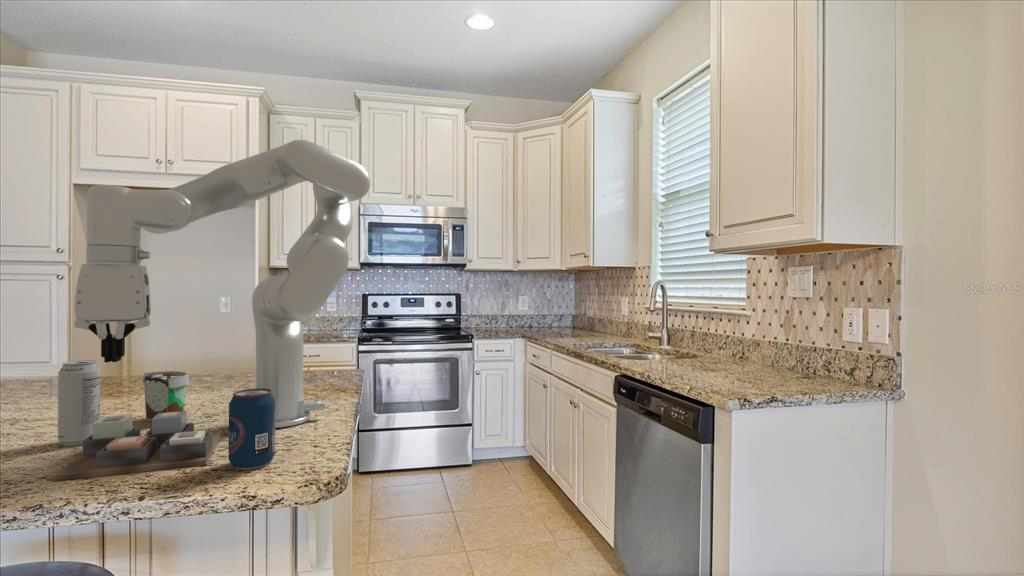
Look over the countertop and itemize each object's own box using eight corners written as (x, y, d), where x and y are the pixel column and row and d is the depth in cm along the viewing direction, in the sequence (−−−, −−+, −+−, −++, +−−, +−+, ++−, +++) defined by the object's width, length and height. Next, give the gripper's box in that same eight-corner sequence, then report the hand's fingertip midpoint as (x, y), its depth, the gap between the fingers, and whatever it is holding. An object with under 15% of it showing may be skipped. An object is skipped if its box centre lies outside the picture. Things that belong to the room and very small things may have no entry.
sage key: (132, 430, 93) (132, 413, 93) (124, 437, 89) (124, 420, 89) (102, 432, 92) (102, 416, 92) (92, 440, 88) (92, 422, 88)
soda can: (221, 464, 85) (221, 392, 85) (263, 453, 90) (264, 385, 90) (239, 474, 80) (239, 398, 80) (282, 463, 86) (283, 391, 86)
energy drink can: (75, 437, 99) (75, 359, 99) (108, 437, 99) (108, 359, 99) (49, 447, 93) (49, 364, 93) (84, 446, 93) (84, 364, 93)
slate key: (186, 425, 97) (186, 410, 97) (181, 432, 92) (181, 415, 92) (158, 428, 95) (158, 412, 95) (151, 434, 91) (151, 418, 91)
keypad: (222, 434, 101) (222, 418, 101) (206, 464, 85) (206, 445, 85) (97, 445, 94) (97, 428, 94) (53, 481, 77) (53, 460, 77)
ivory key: (205, 446, 91) (205, 429, 91) (200, 454, 87) (200, 436, 87) (175, 449, 89) (175, 431, 89) (169, 457, 85) (169, 439, 85)
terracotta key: (148, 451, 88) (148, 434, 88) (140, 460, 83) (140, 441, 83) (116, 454, 86) (116, 436, 86) (106, 463, 82) (106, 444, 82)
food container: (200, 420, 112) (201, 374, 112) (169, 426, 107) (169, 378, 107) (173, 412, 118) (173, 369, 118) (142, 418, 113) (142, 372, 113)
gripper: (169, 259, 96) (168, 356, 97) (69, 256, 91) (68, 360, 91) (158, 257, 90) (157, 362, 90) (50, 254, 84) (49, 366, 84)
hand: (113, 360), depth 90 cm, fingers closed
